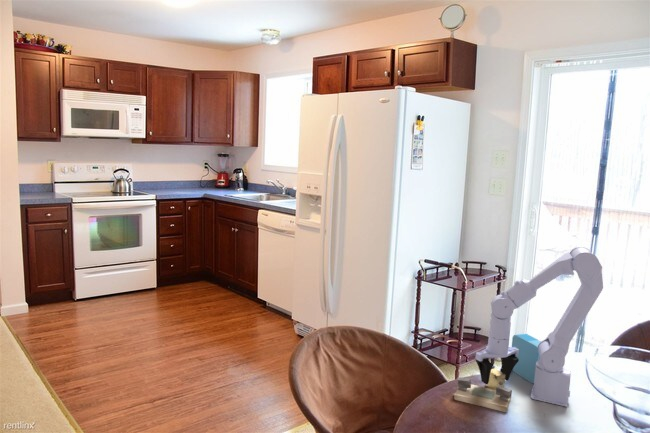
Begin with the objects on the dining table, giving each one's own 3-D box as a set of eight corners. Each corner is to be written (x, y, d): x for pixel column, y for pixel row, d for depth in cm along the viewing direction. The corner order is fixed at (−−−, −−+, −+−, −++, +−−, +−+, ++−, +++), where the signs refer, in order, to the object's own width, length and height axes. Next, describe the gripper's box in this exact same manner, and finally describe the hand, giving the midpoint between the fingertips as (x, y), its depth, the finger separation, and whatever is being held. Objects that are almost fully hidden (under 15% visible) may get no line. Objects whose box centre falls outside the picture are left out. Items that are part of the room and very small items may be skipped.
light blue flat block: (547, 384, 154) (551, 346, 153) (534, 385, 153) (538, 347, 151) (520, 367, 166) (524, 332, 164) (509, 369, 164) (512, 333, 163)
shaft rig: (512, 398, 144) (513, 383, 143) (508, 412, 136) (509, 396, 135) (459, 386, 150) (460, 371, 150) (452, 399, 142) (453, 383, 142)
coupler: (504, 391, 149) (506, 374, 148) (496, 392, 147) (498, 376, 147) (492, 383, 153) (494, 367, 152) (484, 385, 152) (486, 369, 151)
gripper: (508, 329, 155) (504, 371, 157) (470, 334, 149) (466, 378, 151) (525, 337, 148) (521, 381, 150) (486, 343, 142) (482, 388, 144)
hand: (494, 380), depth 150 cm, fingers open, 7 cm apart
